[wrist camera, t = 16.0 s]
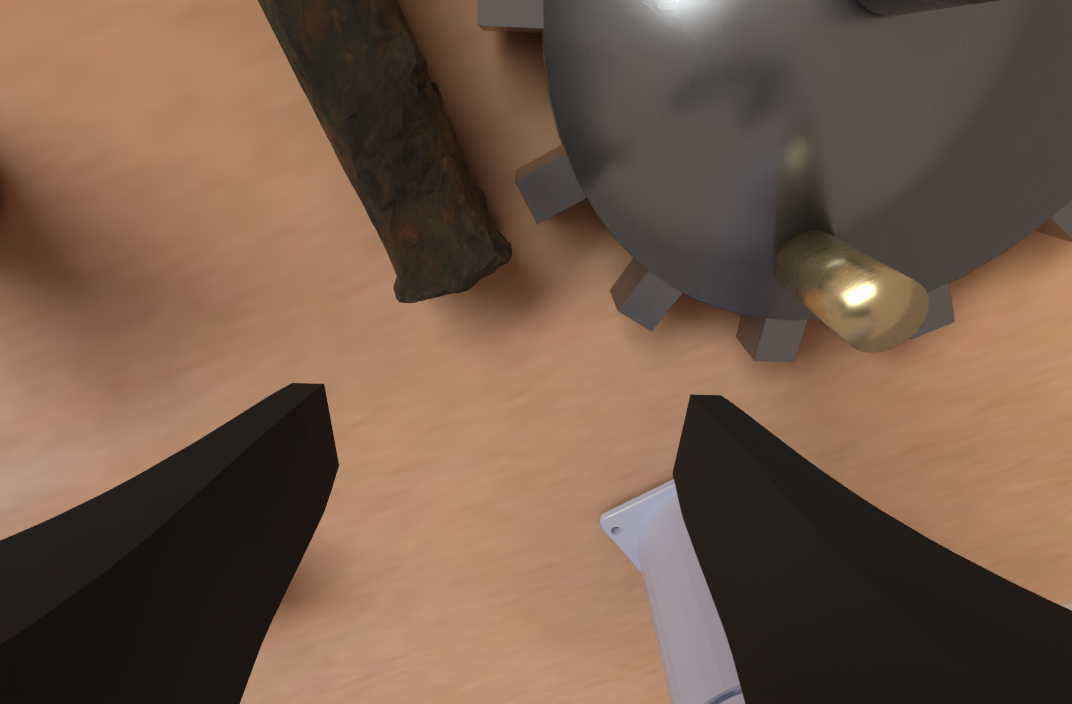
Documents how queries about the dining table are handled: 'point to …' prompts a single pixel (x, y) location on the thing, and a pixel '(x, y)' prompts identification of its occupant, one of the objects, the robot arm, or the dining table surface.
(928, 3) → the cartridge fuse
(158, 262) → the dining table surface
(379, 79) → the dark brown rough bar
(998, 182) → the sprocket
